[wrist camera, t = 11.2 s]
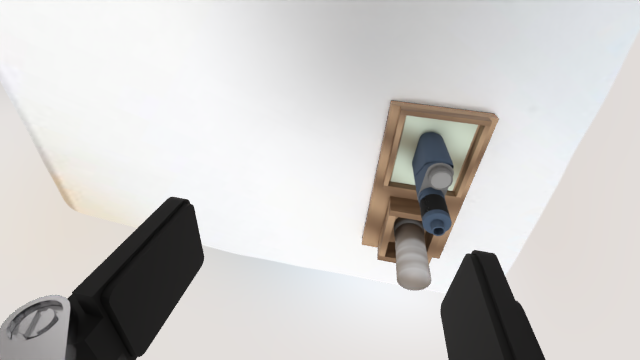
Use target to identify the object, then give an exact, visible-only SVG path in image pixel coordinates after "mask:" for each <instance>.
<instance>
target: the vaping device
mask: <svg viewBox="0 0 640 360" xmlns="http://www.w3.org/2000/svg"><path fill="white" fill-rule="evenodd" d="M412 167H413V173H414V180H415V186H416V192H417V200H418V202H419V206H420V212H421V218H422V224H423V228H424V229H425V230H426V231H427V232H429V233H431V234H433V235H435V236H442V235H443V234H445V232H446V231H448V230H449V229H450V227H451V225H452V222H451V218H450V215H449V211H448V208H447V205H446V201H445V195H446V192H447V190H448V188H449V187H450V186H451V185H452V183H453V175H454V170H453V168H454V165H453V162H452V160H451V157H450V155H449V152H448V150H447V147H446V144H445V142H444V139H443V138H442V136H441V135H439V134H437V133H434V132H427V133H424V134H422V135H421V136H420V138H419V141H418V145H417V148H416V151H415V154H414V158H413V161H412ZM422 216H423V217H422Z"/></svg>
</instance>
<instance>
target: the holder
mask: <svg viewBox="0 0 640 360" xmlns="http://www.w3.org/2000/svg"><path fill="white" fill-rule="evenodd" d="M498 120H499V118H498V117H497V116H496V115H495V114H492V113H484V112H477V111H469V110H461V109H453V108H445V107H438V106H430V105H422V104H414V103H406V102H398V101H391V103H390V108H389V113H388V118H387V123H386V127H385V132H384V137H383V142H382V146H381V151H380V156H379V161H378V166H377V170H376V175H375V180H374V185H373V190H372V194H371V199H370V204H369V209H368V213H367V218H366V223H365V228H364V233H363V237H362V245H367V246H373V247H378V260H383V261H388V262H393V263H396V270H397V282H398V283H399V285H400V286H402V287H403V288H405V289H408V290H422V289H424V288H426V287H428V286H429V285H430V283H431V275H430V269H429V263H430V261H431V258H432V257H433V258H440V255H441V253H442V251H443V248H444V246H445V244H446V241H447V239H448V237H449V234H450V232H451V230H452V227H453V225H454V223H455V220H456V218H457V216H458V213H459V211H460V209H461V206H462V204H463V202H464V199H465V197H466V195H467V192H468V190H469V188H470V185H471V183H472V181H473V178H474V176H475V174H476V171H477V169H478V166H479V164H480V162H481V159H482V157H483V155H484V152H485V150H486V148H487V145H488V143H489V141H490V138H491V136H492V134H493V131H494V129H495V127H496V124H497V122H498ZM427 132H434V133H437V134H439V135H441V136H442V138H443V139H444V142H445V144H446V147H447V150H448V152H449V155H450V157H451V160H452V162H453V165H454V168H453V170H454V175H453V183H452V185H451V186H450V187H449V188H448V190H447V192H446V195H445V201H446V205H447V208H448V211H449V215H450V218H451V222H452V225H451V227H450V229H449V230H448V231H446V232H445V234H443V235H442V236H435V235H433V234H431V233H429V232H427V231H426V230H425V229H424V228H423V224H422V218H421V212H420V206H419V202H418V200H417V192H416V186H415V180H414V173H413V167H412V161H413V158H414V154H415V151H416V148H417V145H418V141H419V138H420V136H421V135H422V134H424V133H427ZM422 217H423V216H422Z"/></svg>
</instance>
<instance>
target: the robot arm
mask: <svg viewBox="0 0 640 360" xmlns="http://www.w3.org/2000/svg"><path fill="white" fill-rule="evenodd" d="M203 261H204V254H203V249H202V244H201V239H200V234H199V229H198V225H197V220H196V215H195V210H194V206H193V205H192V204H190V202H189V200H187V199H182V198H176V197H170V198H168V199H167V200H166V201H165V202H164V203H163V204H162V205H161V206H160V207H159V208H158V209H157V210H156V211H155V212H154V213H153V214H152V215H151V216H150V217H149V218H148V219H147V220H146V221H145V222H144V223H142V224H141V225H140V226H139V227H138V228H137V229H136V230H135V231H134V232H133V233H132V234H131V235H130V236H129V237H128V238H127V239H126V240H125V241H124V242H123V243H122V244H121V245H120V246H119V247H118V248H117V249H116V250H115V251H114V252H113V253H112V254H111V255H110V256H109V257H108V258H107V259H106V260H105V261H104V262H103V263H102V264H101V265H100V266H98V267H97V268H96V269H95V270H94V271H93V272H92V273H91V274H90V276H88V277H87V278H86V279H85V280H84V281H83V282H82V283H81V284H80V285H79V286H78V287H77V288H76V289H75V290H74V291H73V292H72V293H73V294H72V295H71V296H70V297H69V298H68V299H67V298H65V297H62V296H60V295H50V296H45V297H41V298H38V299H36V300H33V301H31V302H29V303H27V304H25V305H24V306H22V307H20V308H19V309H17V310H16V311H15V312H13V313H12V314H11V315H10V316H9V317H8V318H7V319H6V320H5V322H4V323H3V324H2V326H1V328H0V360H136V358H137V357H140V356H142V355H143V354H144V353H145V352H146V350H147V349H148V347H149V346H150V344H151V343H152V341H153V340H154V338H155V336H156V335H157V334H158V332H159V330H160V329H161V327H162V326H163V324H164V323H165V321H166V320H167V318H168V317H169V315H170V314H171V312H172V310H173V309H174V308H175V306H176V304H177V303H178V301H179V300H180V298H181V297H182V295H183V294H184V292H185V291H186V289H187V287H188V286H189V284H190V283H191V281H192V280H193V278H194V277H195V275H196V274H197V272H198V271H199V269H200V268H201V266H202V264H203ZM441 318H442V324H443V330H444V335H445V341H446V347H447V352H448V358H449V360H545V358H544V355H543V353H542V351H541V348H540V346H539V344H538V341H537V339H536V337H535V335H534V332H533V330H532V328H531V325H530V323H529V321H528V318H527V316H526V314H525V312H524V310H523V308H522V306H521V305H520V303H518V301H515V299H514V296H513V294H512V292H511V289H510V287H509V285H508V282H507V280H506V277H505V275H504V273H503V270H502V268H501V266H500V263H499V261H498V258H497V257H496V255H495V254H494V253H488V252H483V251H477V250H474V251H473V252H472V253H471V254H466V255H465V257H464V259H463V261H462V263H461V265H460V267H459V269H458V271H457V273H456V275H455V277H454V279H453V281H452V283H451V285H450V287H449V289H448V291H447V293H446V296H445V298H444V300H443V302H442V304H441Z"/></svg>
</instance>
